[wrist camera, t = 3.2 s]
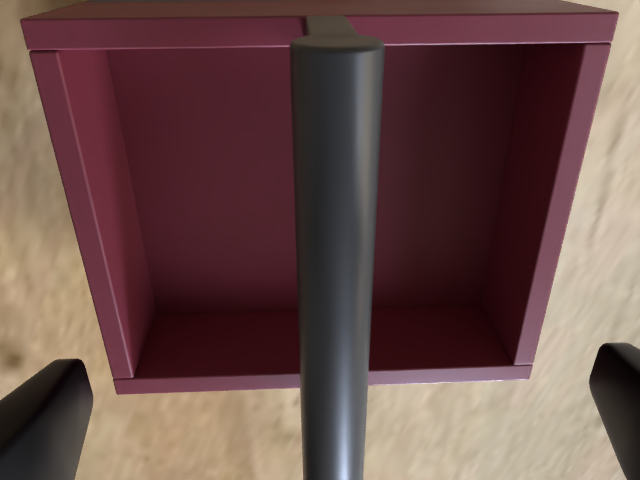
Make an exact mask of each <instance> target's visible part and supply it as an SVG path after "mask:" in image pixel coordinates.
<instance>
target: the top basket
mask: <svg viewBox="0 0 640 480" xmlns="http://www.w3.org/2000/svg"><path fill="white" fill-rule="evenodd" d="M618 16H619V12H616V11H611V10H606V9H601V8H596V7H591V6H586V5H581V4H576V3H571V2H566V1H561V0H282V1H185V2H89V3H79V4H75V5H71V6H67V7H64V8H60V9H56V10H52V11H48V12H45V13H41V14H37V15H33V16H29V17H26V18H22V19H20V23H21V26H22V30H23V34H24V38H25V42H26V46H27V49H28V50H32V51H30V52H29V55H30V59H31V63H32V67H33V71H34V75H35V78H36V82H37V86H38V90H39V94H40V98H41V102H42V106H43V109H44V113H45V117H46V121H47V125H48V129H49V133H50V136H51V140H52V144H53V148H54V152H55V156H56V160H57V164H58V167H59V171H60V175H61V179H62V183H63V187H64V191H65V194H66V198H67V202H68V206H69V210H70V214H71V218H72V222H73V225H74V229H75V233H76V237H77V241H78V245H79V249H80V253H81V256H82V260H83V264H84V268H85V272H86V276H87V280H88V283H89V287H90V291H91V295H92V299H93V303H94V307H95V311H96V314H97V318H98V322H99V326H100V330H101V334H102V338H103V341H104V345H105V349H106V353H107V357H108V361H109V365H110V369H111V372H112V376H113V382H114V385H115V389H116V393H117V394H118V395H119V394H146V393H174V392H202V391H229V390H257V389H285V388H300V391H301V422H302V454H303V480H363V471H364V452H365V432H366V412H367V392H368V385H395V384H423V383H451V382H478V381H506V380H528V379H529V378H530V374H531V370H532V366H533V365H532V364H533V362H534V358H535V354H536V349H537V345H538V341H539V337H540V333H541V329H542V325H543V321H544V317H545V313H546V309H547V305H548V301H549V297H550V292H551V288H552V284H553V280H554V276H555V272H556V268H557V264H558V260H559V256H560V252H561V248H562V244H563V240H564V235H565V231H566V227H567V223H568V219H569V215H570V211H571V207H572V203H573V199H574V195H575V191H576V187H577V182H578V178H579V174H580V170H581V166H582V162H583V158H584V154H585V150H586V146H587V142H588V138H589V134H590V130H591V125H592V121H593V117H594V113H595V109H596V105H597V101H598V97H599V93H600V89H601V85H602V81H603V77H604V73H605V68H606V64H607V60H608V56H609V52H610V48H611V43H610V42H612V40H613V36H614V32H615V28H616V24H617V20H618Z"/></svg>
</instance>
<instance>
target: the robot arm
mask: <svg viewBox="0 0 640 480" xmlns="http://www.w3.org/2000/svg"><path fill="white" fill-rule="evenodd" d="M589 385H590V390H591V394H592V396H593V399H594V401H595V404H596V406H597V409H598V411H599V414H600V416H601V419H602V421H603V424H604V426H605V429H606V431H607V434H608V436H609V439H610V441H611V444H612V446H613V449H614V451H615V454H616V456H617V459H618V461H619V463H620V466H621V468H622V470H623V472H624V474H625V477H626V479H627V480H640V349H638V348H636V347H634V346H632V345H631V344H628V343H605V344H603V345H602V346H601V347H600V348H599V350H598V353H597V356H596V360H595V363H594V366H593V369H592V372H591V375H590V380H589ZM92 407H93V393H92V389H91V386H90V382H89V379H88V375H87V372H86V368H85V365H84V363H83V362H82V360H80V359H58V360H55V361H53V362H52V363H50V364H49V365H47V366H46V367H45V368H43V369H42V370H41V371H39V372H38V373H37V374H35V375H34V376H33V377H31V378H30V379H29V380H27V381H26V382H25V383H23V384H22V385H20V386H19V387H18V388H16V389H15V390H14V391H12V392H11V393H10V394H8V395H7V396H6V397H4V398H3V399H2V400H0V480H74V479H75V475H76V471H77V467H78V463H79V459H80V455H81V451H82V447H83V443H84V439H85V435H86V431H87V427H88V423H89V419H90V416H91V412H92Z"/></svg>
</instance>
